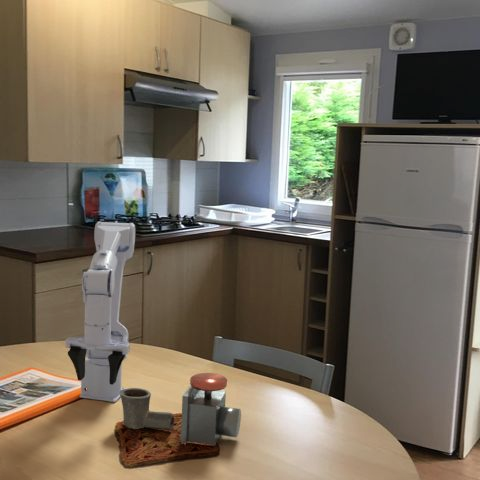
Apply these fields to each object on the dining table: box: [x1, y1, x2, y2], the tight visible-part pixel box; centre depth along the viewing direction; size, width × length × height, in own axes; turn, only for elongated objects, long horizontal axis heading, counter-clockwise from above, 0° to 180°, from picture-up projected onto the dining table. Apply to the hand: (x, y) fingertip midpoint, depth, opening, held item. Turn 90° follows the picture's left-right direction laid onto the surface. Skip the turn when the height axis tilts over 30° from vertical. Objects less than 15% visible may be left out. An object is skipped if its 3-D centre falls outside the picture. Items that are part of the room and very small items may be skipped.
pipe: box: [119, 387, 175, 431], centre depth 139 cm, size 6×13×8 cm, turn 78°
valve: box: [180, 372, 242, 445], centre depth 136 cm, size 12×11×13 cm
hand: (96, 380), depth 140 cm, fingers open, 7 cm apart
